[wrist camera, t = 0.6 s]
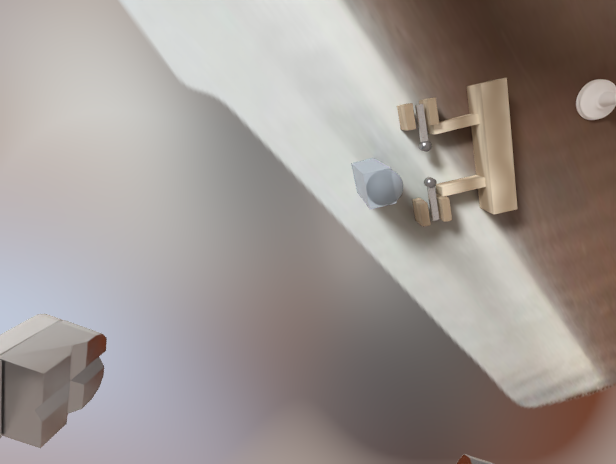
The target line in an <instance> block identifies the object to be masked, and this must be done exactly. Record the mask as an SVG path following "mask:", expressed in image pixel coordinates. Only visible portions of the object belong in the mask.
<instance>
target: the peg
mask: <svg viewBox="0 0 616 464" xmlns="http://www.w3.org/2000/svg"><path fill="white" fill-rule="evenodd" d="M351 164H352V169H353V174H354V179H355V184H356V189H357V193H358V194H359V195H360V197H361V198H362V199H363V201H364V202H365V203H366V205H367V206H368V207H369V209H374V208H378V207H383V206H387V205H391V204H395V203H397V200H398V199H399V197H400V196H401V194H402V191H403V182H402V179H401V177H400V176H399V175H398V174H397V173H396V172H395V171H393V170H391V167H389V166H387V165H385V164H384V163H382V162H380V161H378V160H376V159H375V158H372V159H367V160H363V161H359V162H355V163H351Z"/></svg>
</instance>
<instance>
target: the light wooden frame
mask: <svg viewBox="0 0 616 464" xmlns="http://www.w3.org/2000/svg"><path fill="white" fill-rule="evenodd" d="M467 95H468V104H469V113H470V114H468V115H464V116H459V117H455V118H451V119H447V120H443V121H439V118H438V111H437V103H436V97H435V98H429V99H424V100H420V101H419V104H423V106H424V113H425V120H426V125H427V127H428V134H439V133H443V132H447V131H451V130H456V129H460V128H464V127H468V126H471V131H472V141H473V150H474V159H475V168H476V175H474V176H469V177H465V178H461V179H457V180H452V181H448V182H444V183H439V184H436V190H437V193H438V194H436V199H437V206H438V213H439V218H440V219H441V220H442V221H444V222H447V221H451V220H452V216H451V208H450V201H449V198H448V197H446V196H448V195H452V194H457V193H461V192H465V191H470V190H474V189H478V195H479V204H480V208H482V209H484V210H486V211H488V212H490V213H492V214H499V213H503V212H507V211H512V210H516V209H517V198H516V185H515V173H514V161H513V149H512V136H511V124H510V112H509V100H508V87H507V78H501V79H496V80H491V81H487V82H483V83H479V84H475V85H471V86H467ZM397 108H398V114H399V121H400V127H401V130H406V131H409V130H413V129H416V124H415V118H414V111H413V104H412V103H410V104H403V105H399V106H397ZM412 201H413V208H414V214H415V220H416V221H417V222H418V223H419V224H420V225H421V226H423V227H425V226H429V225H431V224H430V218H429V211H428V204H427V203H426V202H425V201H424V200H422V199H421V198H416V199H412Z"/></svg>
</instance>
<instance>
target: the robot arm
mask: <svg viewBox="0 0 616 464" xmlns="http://www.w3.org/2000/svg"><path fill="white" fill-rule="evenodd" d="M106 340H107V339H106V337H105V336H104V335H103V334H101V333H98V332H96V331H93V330H90V329H87V328H85V327H82V326H79V325H76V324H74V323H71V322H68V321H63V320H61V319H58V318H56V317H53V316H50V315H47V314H38V315H36V316H34V317H32V318H30V319H28V320H27V321H25V322H23V323H21V324H19V325H18V326H16V327H14V328H12V329H10V330H8V331H6V332H5V333H3V334H1V335H0V438H1V435H2V436H5V437H8V438H11V439H14V440H17V441H20V442H23V443H26V444H29V445H32V446H35V447H39V448H41V447H42V446H43V445H44V444H45V443H47V442H48V441H49V439H51V438H52V437H53V436H54V435H55V434H56V433H57V432H58V431H59V430H60V429H61V428H62V427H63V426H64V425H65V424H66V422H67V415H68V413H71V412H74V411H77V410H79V409H82V408H83V407H84V406H85V405H86V404H87V403H88V402H89V401H90V400H91V399H92V398H93V396H94V394H95V393H96V392H97V390H98V388H99V387H100V384H101V381H102V378H103V374H104V365H103V363H102V361H101V359H100V358H99V356H100V355H101V354H102V353H104V352H105V351H106ZM457 464H493V463H490V462H487V461H484V460H481V459H478V458H475V457H472V456H469V455H466V454H464V455H463V456H461V458H459V460H458V462H457Z"/></svg>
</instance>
